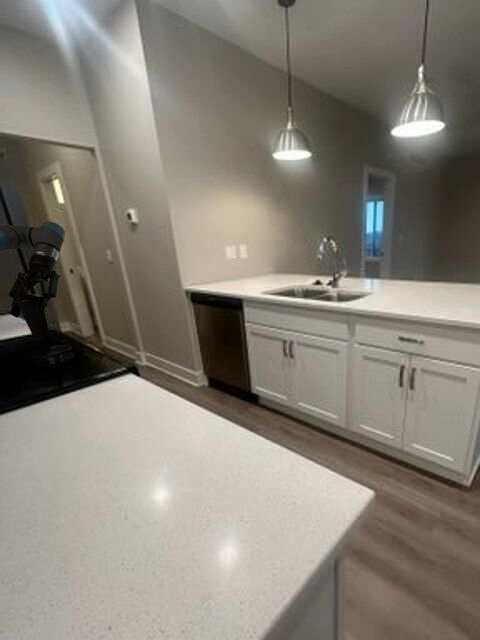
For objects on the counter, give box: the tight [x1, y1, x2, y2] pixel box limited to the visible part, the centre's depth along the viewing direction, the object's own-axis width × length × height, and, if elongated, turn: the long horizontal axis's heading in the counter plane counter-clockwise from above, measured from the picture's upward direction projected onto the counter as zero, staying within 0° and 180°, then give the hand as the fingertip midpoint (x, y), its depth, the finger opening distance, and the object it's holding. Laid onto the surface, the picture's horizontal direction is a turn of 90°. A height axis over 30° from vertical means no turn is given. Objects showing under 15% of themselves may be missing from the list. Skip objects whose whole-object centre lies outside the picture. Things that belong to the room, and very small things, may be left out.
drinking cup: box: [15, 279, 51, 339], centre depth 119 cm, size 8×8×20 cm
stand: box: [30, 344, 76, 370], centre depth 110 cm, size 11×11×4 cm
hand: (26, 315), depth 116 cm, fingers closed on drinking cup, 8 cm apart
